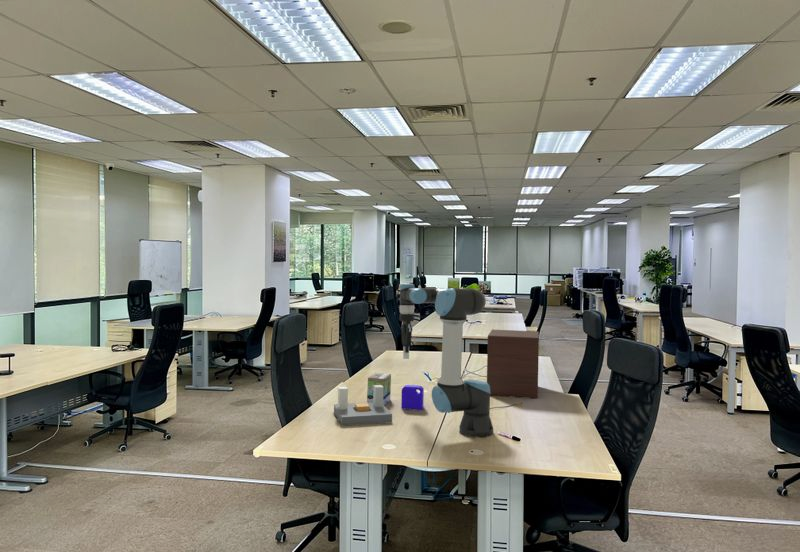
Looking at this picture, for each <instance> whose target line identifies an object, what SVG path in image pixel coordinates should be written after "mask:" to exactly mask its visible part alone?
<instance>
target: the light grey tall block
mask: <svg viewBox="0 0 800 552" xmlns="http://www.w3.org/2000/svg"><path fill="white" fill-rule="evenodd" d="M383 392H384V387H383V386H382V385H373V405H374V406H375V408H376V407H383Z"/></svg>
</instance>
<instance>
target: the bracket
mask: <svg viewBox="0 0 800 552" xmlns="http://www.w3.org/2000/svg"><path fill="white" fill-rule="evenodd" d="M417 390H418V391H419V392H418V391H417ZM424 390H425V389H424V387H423V386H422V385H414V384H405V385H404V386H403V387H402V388H401V401H400V402H401V408H408V409H407V410H412V409H418V410H417V411H423V409H424V394H425V391H424Z"/></svg>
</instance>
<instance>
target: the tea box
mask: <svg viewBox="0 0 800 552" xmlns="http://www.w3.org/2000/svg"><path fill="white" fill-rule="evenodd" d="M373 385H382V386H383V387H384V392H383V405H384V406H385V405H386V404H387V403H388V402H389V401H390V400H391V394H392V393H391V390H392V389H391V387H392V374H390V373H379V372H375V373H373V374H371V375H370V376H368V377H367V392H366V403H368V402H373Z"/></svg>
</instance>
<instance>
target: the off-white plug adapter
mask: <svg viewBox="0 0 800 552" xmlns="http://www.w3.org/2000/svg"><path fill="white" fill-rule="evenodd" d="M348 393H349V388H348V387H347V385H346V386H338V387H337V404H338V408H339V410H340V409H348V404H349V403H348V402H349V401H348V397H349V396H348V395H349V394H348Z"/></svg>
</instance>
